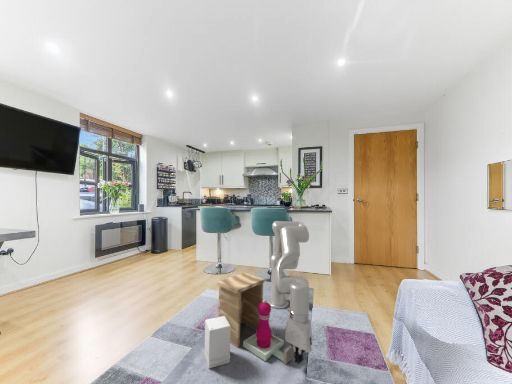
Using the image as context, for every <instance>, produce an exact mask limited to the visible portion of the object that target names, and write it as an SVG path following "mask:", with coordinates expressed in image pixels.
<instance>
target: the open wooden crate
mask: <svg viewBox="0 0 512 384" xmlns="http://www.w3.org/2000/svg"><path fill="white" fill-rule="evenodd" d="M264 283H265V278H263V277H259V276H256V275H253V274H250V273H248V272H243V273H239V274H237V275H234V276H231V277H227V278H225V279H222V280H218V281H217V286H218V316H217V317H221V316H225V317H226V319H227V321H228V323H229V324H230V326H231V328H230V345H232V346H234V347H236V348H237V349H239V348H240V347H241V346H240V345H241V344H240V343H241V337H240V336H241V324H244V325H246V326H248V327H250V328H252V329H253V330H255V331H257V328H258V326H259V323H260V318H259V311H258V306H259V304H260V303H262V302H263V300H264Z"/></svg>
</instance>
